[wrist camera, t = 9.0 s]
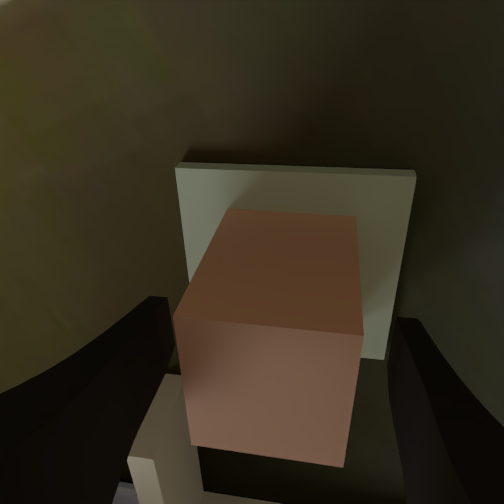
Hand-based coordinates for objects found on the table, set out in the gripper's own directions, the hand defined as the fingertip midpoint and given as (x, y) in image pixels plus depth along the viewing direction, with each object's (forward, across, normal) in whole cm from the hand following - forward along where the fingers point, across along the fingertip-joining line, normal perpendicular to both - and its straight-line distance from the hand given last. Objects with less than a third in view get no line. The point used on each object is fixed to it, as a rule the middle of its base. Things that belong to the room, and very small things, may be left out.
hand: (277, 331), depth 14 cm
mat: (+4, 0, 0) cm, 4 cm away
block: (+3, 0, 0) cm, 3 cm away
